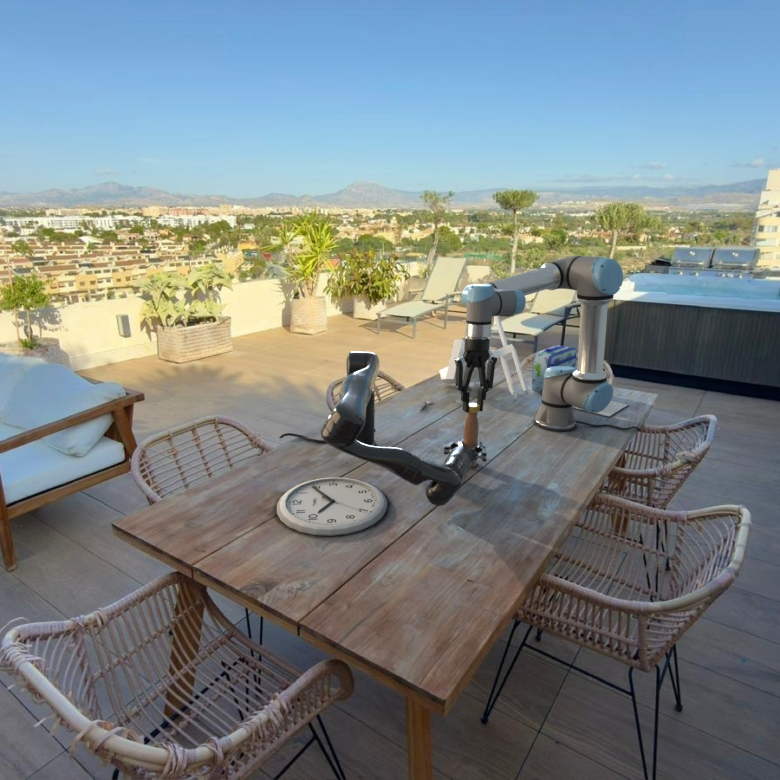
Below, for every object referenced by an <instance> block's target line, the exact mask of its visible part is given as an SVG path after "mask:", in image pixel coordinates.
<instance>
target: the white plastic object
mask: <svg viewBox="0 0 780 780" xmlns="http://www.w3.org/2000/svg"><path fill="white" fill-rule="evenodd" d="M493 319H494V321H495V324H496V325H495V326H496V328H497V332H498V335H499V338H500V342H501V345H502V347H500V348H498V349H496V350H495V349H493V348H492V347H491V346H490V348H489V354H490V356H494V357H496V358H497V362H496V364H495V370H496V369H497V368H499V367H500V366H502V370H503V373H504V376H505V380H506V383H507V386H508V390H509V393H510V394H511V395H512V397H513V398H514V399H515V400H517V392H516V391H517V390H516V388H515V385H514V381H513V378H512V375H511V371H510V369H509V365H508V361H510V360H513V363H514V366H515V369H516V372H517V376H518V380H519V382H520V385H521V389H522V391H523V393H524V395H525V396H526V397H528V396H531V395H530V390H529V388H528V387H529V386H528V384H527V381H526V378H525V375H524V371H523V369H522V368H523V367H522V366H521V362H520V359H519V355H518V352H517V349H516V347H515V346H514V345H513V343H511V344H508V341H507V337H506V334H505V331H504V328H503V325H502V321H501V318H500V316H493ZM464 344H465V339H463V338H460V339H458V338H454V340H453V344H452V349H451V353H450V357H449V362H448V366H446V367H444V368H442V369H440V370H439V371H438V372H439V376H440V381H442V383H443V384H444V385H445V386H449V385H456V364H455V358H460V357H462V356H463V354H464ZM465 367H466V362H465V360H464V364H463V378H464V374H465V370H466V368H465ZM487 367H488V360H487V361H486V363H485V368H486V369H485V374H486V376H487ZM470 383H473V384H477V383H480V381H479V373H478V368H477V367H476V368H474V371H473V372H472V376H471V380H470Z"/></svg>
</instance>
